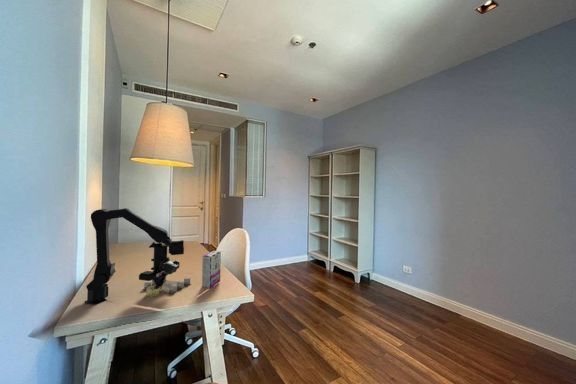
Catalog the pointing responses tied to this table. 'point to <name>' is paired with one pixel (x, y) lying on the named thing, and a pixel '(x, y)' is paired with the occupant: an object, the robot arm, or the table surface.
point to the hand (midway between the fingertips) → (159, 288)
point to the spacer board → (167, 287)
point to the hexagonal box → (153, 291)
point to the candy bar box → (211, 269)
